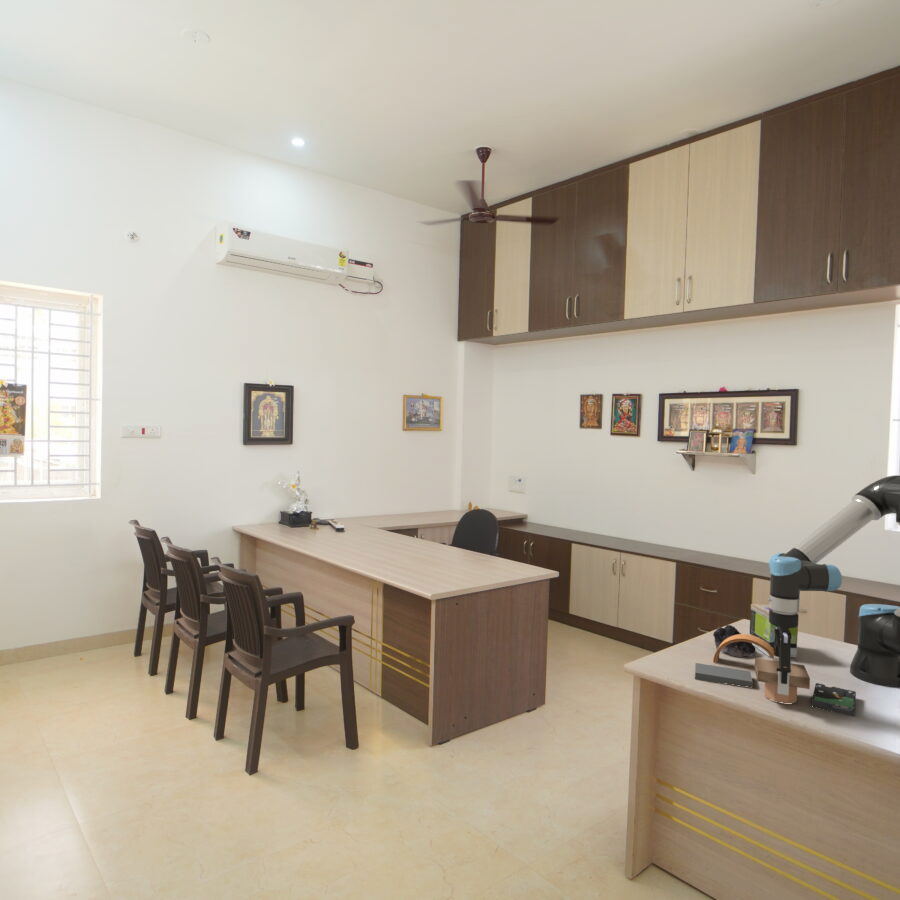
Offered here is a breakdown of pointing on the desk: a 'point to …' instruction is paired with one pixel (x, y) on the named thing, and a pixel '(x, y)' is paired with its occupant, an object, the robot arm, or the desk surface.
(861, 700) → the desk surface
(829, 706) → the disk drive
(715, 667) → the block
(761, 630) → the tea box
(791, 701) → the plant pot
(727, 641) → the arch
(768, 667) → the cover board
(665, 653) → the desk surface
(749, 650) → the crystal cluster
